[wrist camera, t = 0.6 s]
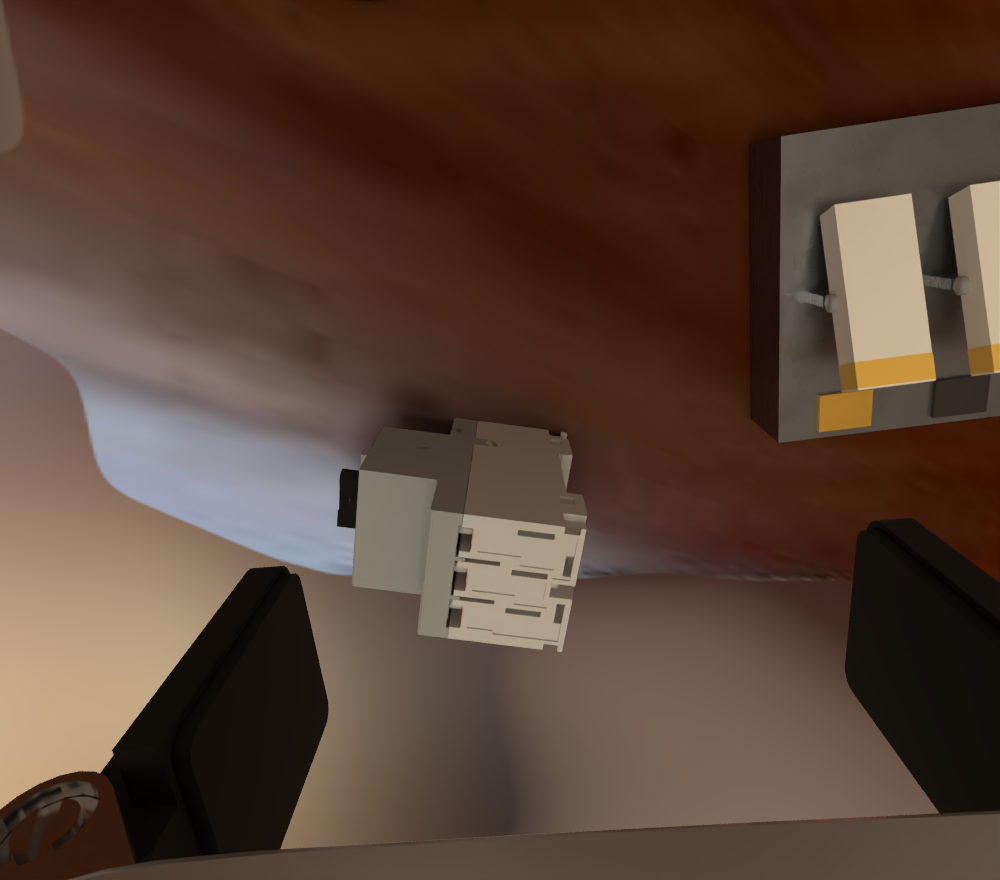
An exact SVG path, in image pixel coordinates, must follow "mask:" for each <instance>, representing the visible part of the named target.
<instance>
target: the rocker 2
mask: <svg viewBox="0 0 1000 880" xmlns="http://www.w3.org/2000/svg"><path fill="white" fill-rule="evenodd" d="M948 201H949V208H950V216H951V224H952V231H953V239H954V246H955V254H956V262H957V269H958V277H957V278H956V279H955V280H954V283H953V290H954V293H955V294H956V295H961V300H962V308H963V315H964V323H965V331H966V338H967V346H968V350H967V351H968V358H969V366H970V374H971V376H979V375H987V374H995V373H1000V181H995V182H988V183H981V184H974V185H969V186H968V187H966V188H964V189H962V190H961V191H959V192H957V193H956V194H954V195H952V196H951V197H949V198H948Z"/></svg>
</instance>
